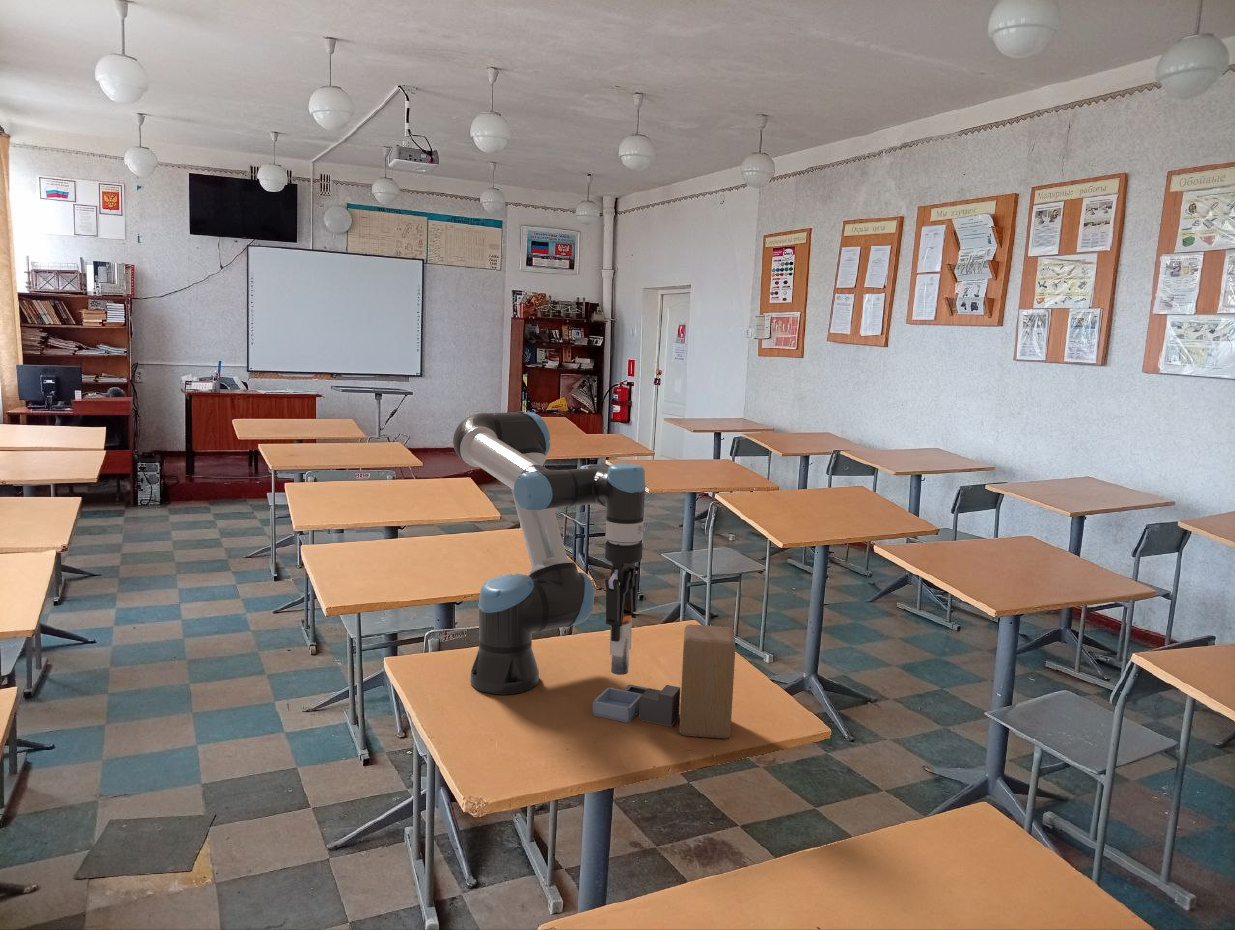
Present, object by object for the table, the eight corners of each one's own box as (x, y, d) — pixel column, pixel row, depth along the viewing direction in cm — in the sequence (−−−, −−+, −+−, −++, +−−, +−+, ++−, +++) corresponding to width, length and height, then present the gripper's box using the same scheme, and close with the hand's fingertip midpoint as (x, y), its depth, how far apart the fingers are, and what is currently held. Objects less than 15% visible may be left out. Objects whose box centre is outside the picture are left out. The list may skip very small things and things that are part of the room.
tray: (592, 715, 178) (592, 701, 178) (607, 700, 186) (607, 687, 185) (628, 722, 176) (629, 708, 175) (642, 707, 183) (643, 694, 182)
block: (728, 718, 179) (734, 625, 176) (730, 741, 169) (736, 643, 166) (680, 714, 180) (685, 622, 177) (679, 736, 170) (683, 639, 167)
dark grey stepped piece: (638, 720, 177) (640, 689, 176) (647, 710, 182) (648, 681, 181) (671, 727, 175) (672, 696, 174) (678, 717, 179) (680, 687, 178)
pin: (625, 676, 177) (627, 619, 175) (607, 673, 178) (608, 616, 176) (632, 669, 180) (634, 614, 178) (614, 666, 182) (616, 611, 180)
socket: (617, 702, 185) (617, 695, 185) (628, 690, 191) (628, 684, 191) (646, 708, 183) (646, 701, 183) (656, 696, 189) (657, 689, 189)
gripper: (626, 552, 166) (622, 668, 170) (655, 534, 181) (651, 642, 185) (590, 547, 169) (587, 662, 172) (622, 530, 184) (618, 636, 188)
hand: (620, 651), depth 179 cm, fingers closed on pin, 3 cm apart
